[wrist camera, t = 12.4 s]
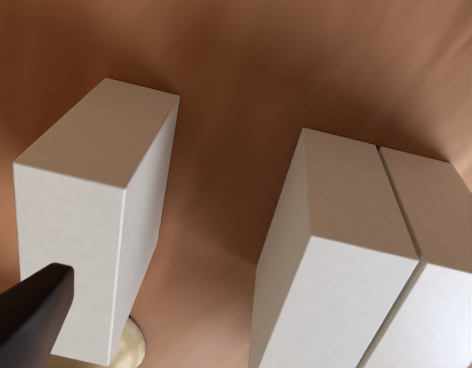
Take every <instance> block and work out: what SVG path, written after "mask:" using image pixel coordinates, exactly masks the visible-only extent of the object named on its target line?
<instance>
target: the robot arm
mask: <svg viewBox="0 0 472 368" xmlns="http://www.w3.org/2000/svg"><path fill="white" fill-rule="evenodd" d="M73 298H74V268H73V267H72V266H70V265H66V264H62V263H57V262H54V263H51V264H49V265H47V266H45V267H44V268H42V269H41V270H39V271H37V272H36V273H34V274H32V275H31V276H29V277H28V278H26V279H24V280H23V281H21V282H19V283H18V284H16V285H15V286H13V287H11V288H10V289H8V290H6V291H5V292H3V293H1V294H0V368H44V367H45V365H46V362H47V360H48V358H49V355H50V353H51V351H52V349H53V346H54V344H55V342H56V339H57V337H58V335H59V333H60V330H61V328H62V326H63V323H64V321H65V319H66V316H67V314H68V312H69V310H70V307H71V305H72V302H73Z"/></svg>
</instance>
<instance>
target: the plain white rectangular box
mask: <svg viewBox="0 0 472 368" xmlns="http://www.w3.org/2000/svg"><path fill="white" fill-rule="evenodd" d="M179 101H180V96H179V95H175V94H171V93H167V92H163V91H158V90H154V89H150V88H146V87H142V86H138V85H134V84H130V83H126V82H122V81H117V80H113V79H109V78H105V79H103V80H102V81H101V82H100V83H99V84H98V85H97V86H96V87H95V88H93V89H92V90H91V91H90V92H89V93H88V94H87V95H86V96H85V97H84V98H82V99H81V100H80V101H79V102H78V103H77V104H76V105H75V106H74V107H73V108H71V109H70V110H69V111H68V112H67V113H66V114H65V115H64V116H63V117H61V118H60V119H59V120H58V121H57V122H56V123H55V124H54V125H53V126H52V127H50V128H49V129H48V130H47V131H46V132H45V133H44V134H43V135H42V136H41V137H39V138H38V139H37V140H36V141H35V142H34V143H33V144H32V145H31V146H29V147H28V148H27V149H26V150H25V151H24V152H23V153H22V154H21V155H20V156H18V157H17V158H16V159H15V160H14V161H13V163H12V166H13V180H14V194H15V209H16V223H17V237H18V252H19V266H20V281H23V280H24V279H26V278H28V277H29V276H31V275H32V274H34V273H36V272H37V271H39V270H41V269H42V268H44V267H45V266H47V265H49V264H51V263H54V262H57V263H62V264H66V265H70V266H72V267H73V268H74V298H73V302H72V305H71V307H70V310H69V312H68V314H67V316H66V319H65V321H64V323H63V326H62V328H61V330H60V333H59V335H58V337H57V339H56V342H55V344H54V346H53V349H52V351H51V353H50V354H54V355H59V356H63V357H68V358H72V359H77V360H81V361H85V362H90V363H94V364H99V365H103V366H109V364H110V362H111V359H112V357H113V354H114V352H115V349H116V347H117V344H118V341H119V339H120V336H121V334H122V331H123V329H124V326H125V324H126V321H127V319H128V316H129V314H130V311H131V308H132V306H133V303H134V301H135V298H136V296H137V293H138V291H139V288H140V286H141V283H142V281H143V278H144V275H145V273H146V270H147V268H148V265H149V263H150V260H151V258H152V255H153V253H154V250H155V248H156V245H157V242H158V235H159V229H160V222H161V216H162V210H163V203H164V197H165V190H166V184H167V178H168V171H169V165H170V158H171V152H172V146H173V139H174V133H175V126H176V120H177V114H178V107H179Z"/></svg>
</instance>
